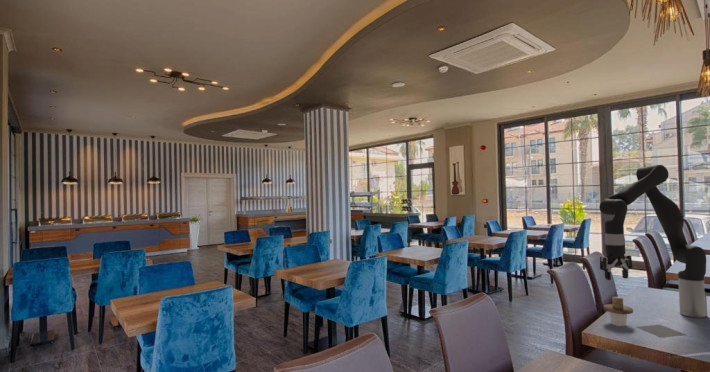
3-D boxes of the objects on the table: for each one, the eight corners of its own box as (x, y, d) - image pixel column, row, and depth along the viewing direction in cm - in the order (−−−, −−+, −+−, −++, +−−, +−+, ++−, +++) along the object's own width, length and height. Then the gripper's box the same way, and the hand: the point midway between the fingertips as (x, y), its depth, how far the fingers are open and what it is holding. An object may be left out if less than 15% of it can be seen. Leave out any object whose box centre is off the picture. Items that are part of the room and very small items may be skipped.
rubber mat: (660, 326, 169) (659, 324, 169) (686, 336, 157) (686, 334, 157) (635, 328, 167) (635, 326, 167) (661, 339, 155) (661, 337, 155)
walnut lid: (618, 305, 178) (618, 293, 178) (639, 312, 167) (639, 300, 167) (597, 307, 177) (597, 295, 177) (617, 315, 166) (616, 302, 166)
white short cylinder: (610, 321, 177) (609, 306, 177) (628, 324, 172) (627, 309, 172) (608, 326, 171) (608, 310, 171) (627, 329, 167) (626, 313, 167)
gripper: (622, 241, 177) (623, 276, 176) (594, 243, 175) (596, 278, 175) (636, 243, 169) (637, 279, 169) (607, 245, 167) (609, 282, 167)
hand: (616, 279), depth 172 cm, fingers open, 8 cm apart
